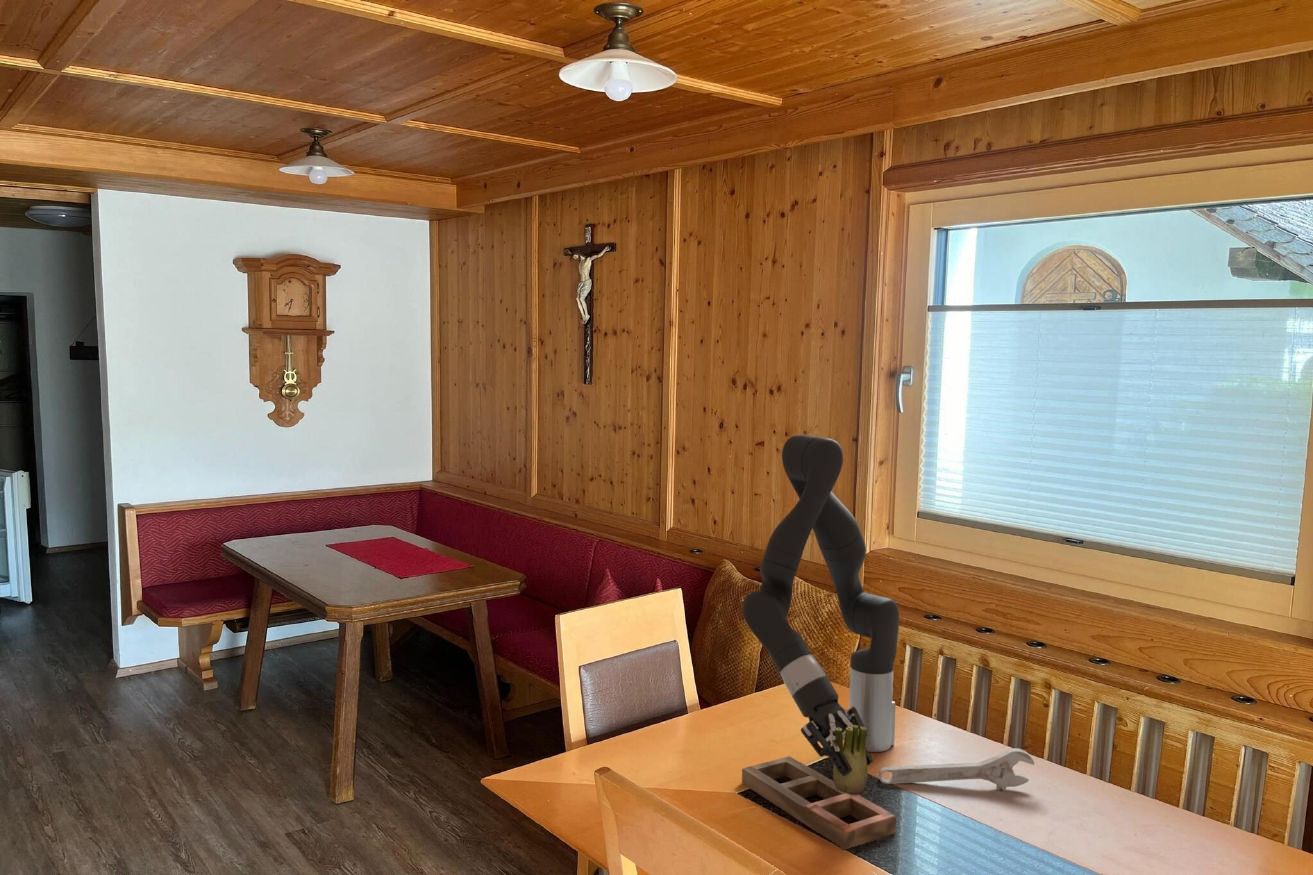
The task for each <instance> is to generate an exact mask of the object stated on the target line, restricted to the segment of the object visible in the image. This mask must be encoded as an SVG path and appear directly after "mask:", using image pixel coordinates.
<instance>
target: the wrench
mask: <svg viewBox="0 0 1313 875" xmlns="http://www.w3.org/2000/svg"><path fill="white" fill-rule="evenodd" d="M1019 762H1023V763H1026V764H1030V765H1032V766H1034V765H1035V761H1034V759H1033V757H1032V755H1031V754H1029V753H1028V752H1027V751H1026V750H1024V749H1021V748H1015V747H1014V748H1009V749H1007V750H1005V751H1003V752H1001V753H999V754H997V755H995V756H993V757H990V758H987V759H984V760H981V761H978V762H966V763H965V762H962V763H941V764H940V763H939V764H920V765H919V764H918V765H896V766H894V765H893V766H883V767H881V768H880V769H879V771H878V778H879V780H880V782H881V783H882V784H889V785H893V784H895V785H899V784H911V783H929V782H944V781H945V782H947V781H948V782H949V781H961V780H962V781H964V780H984V781H988V782H990V783H992V784H995V785H996V786H995V788H996V789H997V790H1002V791H1003V792H1006V791H1007V788H1010V787H1011V788H1012V787H1015V788H1016V787H1018V786H1022V785H1024V784H1027V783H1028V782H1029V781H1030V778H1029V777H1028V776H1026V775H1023V774H1021V773H1017V772H1014V769H1013V768H1014V767H1015V765H1017V764H1018V763H1019ZM884 772H887V773H891V774H892V775H891V777H890V778H888V779H885V778H883V777H882V775H883V773H884Z"/></svg>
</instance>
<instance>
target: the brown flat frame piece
mask: <svg viewBox="0 0 1313 875" xmlns="http://www.w3.org/2000/svg"><path fill="white" fill-rule="evenodd" d="M741 771H742V772H741V783H742V784H743V785H744V786H746V787H747V788H749V789H750V790H752V791H753V792H755V793H757V794H758V795H760V796H761V797H762V798H764V799H766V800H767V801H769V802H770V803H772V804H773V805H775V806H777V807H778V808H780V809H781V810H783V811H784V812H786V813H787V814H789V815H790V816H791V817H793V818H795V819H796V820H798V821H800V822H801V823H803V824H804V825H806V826H807V827H809V828H810V829H812V830H813V831H815V832H816V833H818V834H819V833H820V835H821V836H822V835H823V837H824V838H825V837H826V838H825V839H827V838H828V839H829V840H828V839H827V840H828V841H830V840H831V841H832V842H831V841H830V842H831V843H833V842H834V843H835V845H836V844H837V845H836V846H838V847H839V846H840V847H839V848H841V847H842V848H843V849H842V848H841V849H842V850H844V849H847V850H850V849H852V848H851V847H853V848H855V846H856V847H858V845H859V846H862V845H865V844H867V843H870V842H873V841H876V840H880V839H883V838H886V837H889V836H892V835H895V834H896V833H897V832H896V831H897V830H896V828H897V816H896V815H895V814H893V813H892V812H890V811H887V810H886V809H885V808H883V807H881V806H879V805H878V804H876V803H873V802H872V801H871V800H869V799H866V798H865V797H863V796H862V795H860V794H857V795H851V794H847V793H844V792H842V791H839V790H838V789H836V786H835V783H834V780H832V779H831V778H828V777H827V776H825V775H823V774H822V773H820V772H818V771H816V770H815V769H813V768H812V767H809V766H808V765H806V764H805V763H802V762H801V761H799V760H798V759H796V758H793V757H792V756H791V755H789V756H786V757H782V758H779V759H778V758H777V759H774V760H770V761H765V762H762V763H758V764H754V765H750V766H746V767H742V769H741ZM784 777H787V778H788V779H791V780H789V781H786V782H782V783H779V782H778V781H777V780H776V779H780V778H784ZM812 796H818V797H821V798H822V800H819V801H815V802H810V801H809V800H807V799H806V798H809V797H812ZM848 816H852V817H853V818H856V820H858V821H855V822H853V823H847V822H845V821H844V820H843V819H841V818H844V817H848ZM834 843H833V844H834ZM849 848H850V849H849Z"/></svg>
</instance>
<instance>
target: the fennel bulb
mask: <svg viewBox="0 0 1313 875" xmlns="http://www.w3.org/2000/svg"><path fill="white" fill-rule="evenodd" d="M844 732H845V739H844V740H843V733H842V729H841V728H839V727H838V728H836V729H835V736H836V741H837V742H838V744H839V748H840V751H842V753H843V754H844V756H845V758H846V759H847V761H848V763H849V765H850V766H851V768H852V771H851V772H850V773H849V774H847V775H845V776H843V775H842V774H841V773H840V772H839V771H838V769H837V768H836V766H835V764H834V763H833V762H832V763H833V766H832V775H833V776H832V777H833V781H834V783H835V786H836V789H838V790H839V791H842V792H844V793H847V794H851V795H857V794H858V795H860V794H861V793H862V792H863V791H864V790H865V787H866V786H867V782H868V766H867V760H866V752H865V751H866V750H865V746H866V736H867V728H865V727H860V728H859V734H858V726H856V725H853V730H852V728H851V727H848V728H846V731H844ZM840 751H839V752H840Z"/></svg>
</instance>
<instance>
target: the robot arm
mask: <svg viewBox="0 0 1313 875" xmlns="http://www.w3.org/2000/svg"><path fill="white" fill-rule="evenodd" d="M842 448H843V447H841V445H840V444H839V442H838V441H836V440H834V439H832V438H828V437H822V436H814V435H809V434H795V435H793V436H790V437H788V439H787V440H786V441H785V443H784V444H783V447H782V451H781V458H782V459H781V461H782V466H783V469H784V471H785V474H786V477H787V478H788V480H789V482H790V484H791V486H792V487H793V490H794V491H795V494H796V496H797V497H798V499H799V500H798V501H797V502H796V504H795V505H794V507H793V508H792V509H791V510H790V512H788V514H786V515H785V517H784V518H782V520H781V522H780V523H778V525H777V526H776V527H775V528H774V530H773V531H772V534H771V535H770V537H769V539H768V542H767V544H766V548H765V550H764V554H763V557H762V560H761V563H760V567H759V572H760V576H761V578H762V581H761V586H760V590H754V591H752V592H750V593H748V594H747V595H746V596H745V598H744V600H743V602H742V607H741V611H742V612H741V613H742V616H743V619H744V621H745V622H746V625H747V626H748V627H749V629H750V631H752V633H753V634H754V636H755V637H756V638H757V640H758V641H759V643H760V644H761V645H762V647H764V648H765V650H766V651H767V652H768V654H769V657H770V658H771V660H772V662H773V664H774V665H775V668H776V669H777V671H778V673H779V674H780V675H781V678H782V680H783V682H784V685H785V687H786V689H787V690H788V692H789V694H790V695H791V698H792V699H793V701H794V703H795V704H796V706H797V707H798V710H799V711H800V713H801V715H802V716H803V717H804V718H808V721H809V722H807V723H806V724H805V725H803V726H802V727H801V728H800V732H801V734H802V735H803V736H804V738H806V740H807V741H808V743H809V744H810V746H811V747H812V748H813V749H814V751H815V753H817V754H818V756H819V757H821V758H822V757H824V756H826V757H828V758H830V759H831V761H832V763H834V764H835V766H836V768H837V769H838V771H839V772H840V773H841V774H842V775H843V776H845V775H847V774H849V773H850V772H851V771H852V768H851V766H850V765H849V763H848V761H847V759H846V758H845V756H844V754H843V753H842V751H840V748H839V744H838V742H837V741H836V736H835V729H836V728H838V727H839V728H841V729H842V733H843V741H844V739H845V731H846V728H848V727H851V728H852V730H853V725H856V726H858V734H859V728H860V727H865V728H867V736H866V746H865V750H866V751H865V752H866V760H867V767H869V766H870V765H871V764H872V763H874V761H873V757H872V755H871V754H870V753H881V752H885V751H888V750H889V749H890V748H891V746H893V745H895V737H896V736H895V732H896V729H895V728H896V727H895V726H896V706H897V704H896V703H895V701H893V691H894V689H893V687H894V664H895V660H896V656H897V652H898V650H897V649H898V639H899V628H900V610H899V607H898V604H897V602H896V601H895V600H893V599H891V598H890V597H886V596H885V597H884V596H879V595H877V594H872V593H868V592H866V591H865V589H864V588H863V585H862V583H861V580H860V575H859V574H860V571H861V569H862V566H863V564H864V562H865V558H866V555H867V554H866V553H867V547H866V542H865V540H864V536H863V533H862V531H861V529H860V526H859V524H858V523H859V522H858V521H857V519H856V518H855V517H854V515H853V514H852V513H851V512H850V510H849V509H848V508H847V507H846V506H845V505H844V504H843V502H842V501H840V499H839V498H838V497H837V496H836V495H835V494H834V493H833V492H832V491H833V488H834V487H835V485H836V483H837V480H838V478H839V476H840V473H841V471H842V468H843V464H844V453H843V452H844V451H843V449H842ZM812 531H813V533H814V536H815V539H816V541H817V542H816V543H817V544H818V547H819V551H820V552H821V555H822V557H823V559H824V562H825V565H826V566H827V570H828V572H829V574H830V577H831V581H832V584H833V586H834V589H835V593H836V597H837V601H838V605H839V608H840V612H841V616H842V618H843V619H842V620H843V622H844V625H845V626H846V627H847V629H848V630H849V631H850V632H851V633H853V634H856V635H859V636H863V637H865V638H870V643H869V644H870V645H869V648H862V649H858V650H855V651H853V652H852V654H850V661H849V662H850V664H849V695H848V696H849V700H848V701H849V702H848V709H845V708H844V707H843V706H842V705H840V703H839V694H838V693H837V691H836V689H835V687H834V686H833V684H832V683H831V681H830V679H829V678H828V676H827V674H826V673H825V671H824V669H823V668H822V666H821V665H820V663H819V662H818V661H817V660H816V658H815V657H814V655H813V654H812V652H811V651H810V649H809V647H808V646H807V643H806V642H805V640H804V639H803V637H802V636H801V635H800V634H799V632H798V631H796V630H795V629H793V628H792V627H791V625H790V624H789V622H788V621H787V618H788V615H789V611H790V607H791V603H792V596H793V588H794V587H793V586H794V580H795V577H796V575H797V571H798V569H799V566H800V562H801V559H802V557H803V553H804V550H805V548H806V544H807V542H808V539H809V537H810V535H811V532H812ZM819 743H820V744H819ZM839 751H840V752H839Z"/></svg>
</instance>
